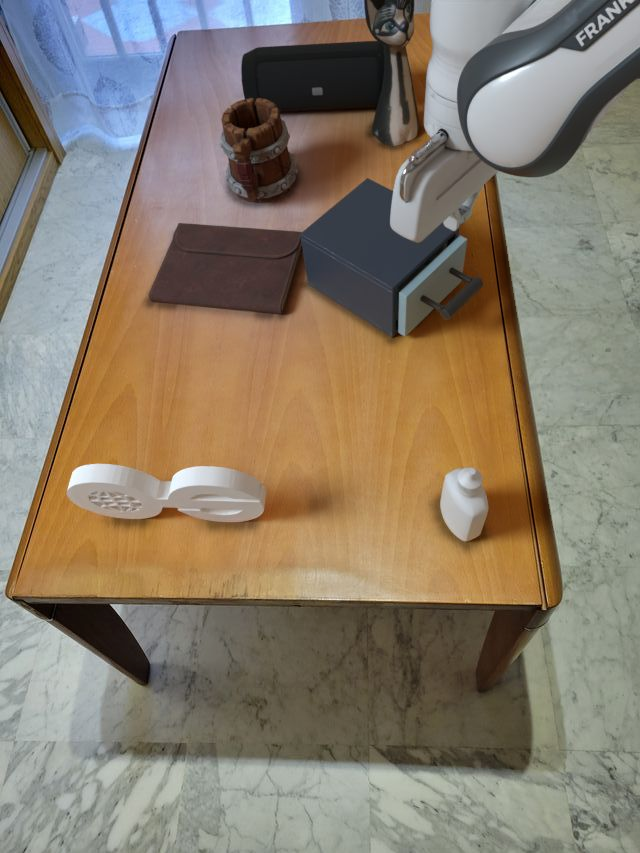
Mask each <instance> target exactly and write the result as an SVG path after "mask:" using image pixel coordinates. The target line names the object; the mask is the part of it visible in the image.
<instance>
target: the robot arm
mask: <svg viewBox="0 0 640 853" xmlns="http://www.w3.org/2000/svg"><path fill="white" fill-rule="evenodd" d="M429 10H430V12H429V32H430V37H431V42H432V51H431V55H430V58H429V61H428V64H427V68H426V77H425V92H424V94H425V95H424V108H423V109H424V110H423V127H424V130H425V132H426V134H427V135H428V137H429V139H427V141H425V142H424V144H423V145H422V146H420V147H419V148H416V149H415V150H414V151H413V152H412V153H411V154H410V155H409V157H408V158H407V159H406V160H405V161H404V162H403V163H402V164H401V166H400V167H399V169H398V171H397V173H396V176H395V180H394V184H393V190H392V191H393V196H392V203H391V213H390V226H391V228H392V229H393V230H394V231H395V232H396V233H398V234H399V235H401V236H402V237H404V238H406V239H408V240H411V241H413V242H416V243H420V242H422V241H423V240H424V239H425V238H426V237H427V236H428V235H429V234H430V233H432V232H433V231H434V230H435V229H436V228H437V227H438V226H439V225H440V224H441V223H442V222H443V223H444V226H445V227H446V228H448V229H450V230H452V231H456V230H457V229H458V228H459V227H461V226H462V225H464V224H465V222H467V221H468V220H470V218H471V217H472V216H473V210H474V205H475V204H476V201H477V200H478V198H479V195H480V193H481V192H482V190H483V186H484V185H485V184H486V183H487V182H488V181H490V179H492V177H494V176H495V175H496V174H497V173H498V172H500V173H503V174H507V175H510V176H515V177H521V178H541V177H546V176H549V175H552V174H554V173H556V172H558V171H559V170H561V169H562V168H564V167H565V166H566V165H567V164H568V163H569V161H570V160H572V158H573V157H574V156H575V154H576V153H577V151H578V150H579V149H580V147H581V146H582V145H583V143H584V142H585V141H586V139H587V137H588V135H589V134H590V133H591V131H592V130H593V129H594V128H595V127H596V125H597V124H599V122H600V121H601V119H602V118H604V116H605V115H606V114H607V113H608V112H609V110H610V109H611V108H612V106H613V105H614V104H615V103H616V102H617V101H618V99H620V97H621V96H622V95H623V94H624V92H626V90H627V89H628V88H629V87H630V86H631V85H632V84H633V83H634V82H635V81H636V80H638V79H639V78H640V0H430V9H429Z"/></svg>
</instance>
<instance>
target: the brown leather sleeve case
mask: <svg viewBox="0 0 640 853" xmlns="http://www.w3.org/2000/svg"><path fill="white" fill-rule="evenodd" d="M302 232H303V231H297V230H295V231H294V230H283V229H268V228H253V227H243V226H242V227H240V226H239V227H238V226H226V225H213V224H197V223H187V222H186V223H183V222H178V223H177V226H176V228H175V230H174V232H173V235H172V240H171V242H170V244H169V246H168V249H167V251H166V254H165V255H164V258H163V260H162V262H161V265H160V267H159V269H158V272H157V274H156V277H155V279H154V281H153V283H152V286H151V287H150V290H149V293H148V299H149V301H150V302H153V303H162V304H163V303H164V304H171V305H172V304H173V305H182V306H194V307H201V308H203V307H204V308H213V309H222V310H223V309H224V310H235V311H243V312H244V311H245V312H253V313H254V312H255V313H264V314H276V315H283V314H284V311H285V307H286V304H287V300H288V297H289V293H290V291H291V287H292V284H293V280H294V277H295V273H296V270H297V267H298V265H299V264H298V262H299V260H300V257H301V253H302V251H303V248H302V242H301V236H300V233H302Z"/></svg>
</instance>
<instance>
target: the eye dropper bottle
mask: <svg viewBox="0 0 640 853" xmlns="http://www.w3.org/2000/svg"><path fill="white" fill-rule="evenodd" d="M483 480H484V478H483V475H482V472H481V471H479V470H478V469H477V468H475V467H472V466H471V467H470V466H469V467H464V468H462V467H458V468H455V469H452V470H451V471H449V472H448V473H447V474H445V476H444V480H443V485H442V491H441V496H440V502H439V506H440V512H441V516H442V518H443V521H444V522H445V524H446V526H447V528H448V530H450V531H451V533H453V535H454V536H455V537H457V538H458V539H459V540H461V541H462V542H470V541H471V540H472V541H473V539H476V538H478V537H479V536H480V535H481V534H482V531H483V529H484V525H485V522H486V519H487V516H488V512H489V507H490V506H489V501H488V497H487V493H486V491H485V489H484V486H483Z"/></svg>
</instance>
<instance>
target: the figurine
mask: <svg viewBox="0 0 640 853" xmlns="http://www.w3.org/2000/svg"><path fill="white" fill-rule="evenodd" d="M363 4H364V6H363V7H364V16H365V17H364V18H365V22H366V26H367V28H368V30H369V33H370V34H371V37H373V39H374V40H375V41H378V42H380V43H381V44H383V45H384V58H385V61H384V78H383V84H382V90H381V94H380V98H379V102H378V106H377V107H376V110H375V113H374V117H373V122H372V126H371V134H372V136H374V137H375V138H376V139H377V140H378V141H379V142H381V143H382V144H384V145H386V146H390V147H398V146H401V145H403V144H404V143H405V142H411V141H413V140H415V139H416V138H417V136H418V132H419V129H420V128H419V127H420V126H419V124H420V121H419V120H420V118H419V112H418V106H417V102H416V101H417V100H416V96H415V91H414V90H415V89H414V85H413V84H414V83H413V77H412V72H411V71H412V70H411V67H410V62H409V57H408V52H407V46H408V45H409V43H410V41H411V39H412V37H413V36H414V33H415V19H414V18H415V17H414V16H415V0H363Z"/></svg>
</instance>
